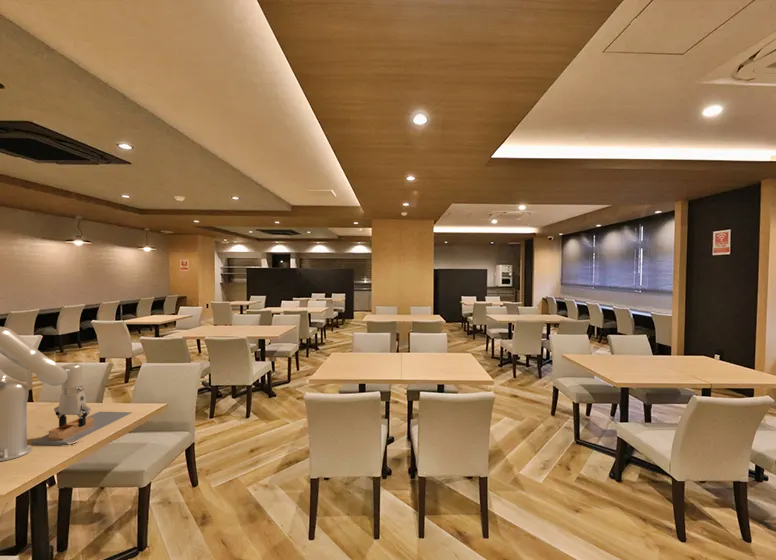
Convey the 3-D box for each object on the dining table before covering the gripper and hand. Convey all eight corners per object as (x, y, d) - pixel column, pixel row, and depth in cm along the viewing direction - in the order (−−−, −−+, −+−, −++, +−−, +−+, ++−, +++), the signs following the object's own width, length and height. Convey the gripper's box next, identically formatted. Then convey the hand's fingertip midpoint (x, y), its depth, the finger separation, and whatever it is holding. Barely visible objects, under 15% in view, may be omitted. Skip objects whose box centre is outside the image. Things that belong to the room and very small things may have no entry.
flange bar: (63, 440, 166) (63, 431, 166) (48, 439, 166) (48, 431, 166) (93, 425, 182) (93, 417, 182) (80, 425, 182) (80, 417, 182)
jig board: (72, 445, 164) (72, 437, 164) (32, 444, 165) (32, 436, 165) (132, 415, 200) (132, 408, 199) (99, 414, 201) (99, 407, 201)
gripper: (96, 388, 177) (96, 423, 177) (62, 387, 178) (62, 422, 178) (82, 393, 170) (82, 429, 170) (47, 392, 171) (47, 428, 171)
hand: (72, 425), depth 174 cm, fingers open, 9 cm apart
